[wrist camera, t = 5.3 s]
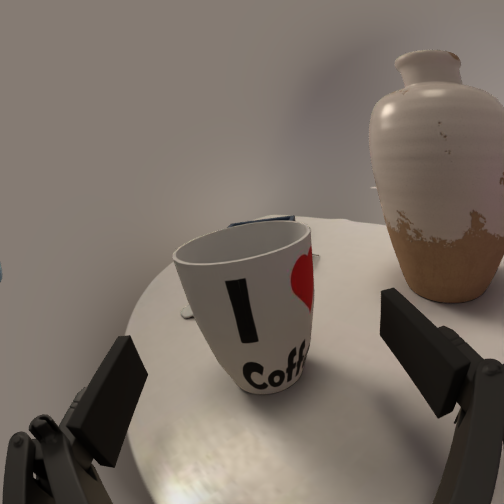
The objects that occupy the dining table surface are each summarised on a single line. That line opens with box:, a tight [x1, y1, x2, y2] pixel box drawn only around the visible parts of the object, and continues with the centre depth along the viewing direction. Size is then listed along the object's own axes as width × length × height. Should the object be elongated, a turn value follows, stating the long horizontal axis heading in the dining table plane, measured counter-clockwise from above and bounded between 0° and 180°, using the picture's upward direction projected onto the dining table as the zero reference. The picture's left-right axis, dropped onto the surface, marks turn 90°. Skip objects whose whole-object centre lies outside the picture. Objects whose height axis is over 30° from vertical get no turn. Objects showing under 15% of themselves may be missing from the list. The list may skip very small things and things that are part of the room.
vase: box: [369, 50, 504, 303], centre depth 22 cm, size 16×16×23 cm
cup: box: [172, 221, 314, 394], centre depth 18 cm, size 8×8×10 cm
